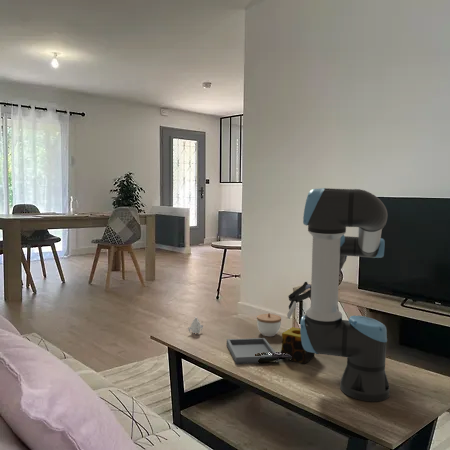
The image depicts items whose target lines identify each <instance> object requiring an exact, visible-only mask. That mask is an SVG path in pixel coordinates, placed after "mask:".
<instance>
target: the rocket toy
mask: <svg viewBox="0 0 450 450" xmlns="http://www.w3.org/2000/svg"><path fill="white" fill-rule="evenodd" d="M187 328H188V332H189V335H190V334H191V332H192V333H193V334H194V333H198V334H200V333H201V332H202V331H203V329H204V325H203V324H201V322H200V321H199V319H198V317H197V316H195V317H194V319H193V320H192V322H191V323H190V326H189V327H187Z"/></svg>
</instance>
